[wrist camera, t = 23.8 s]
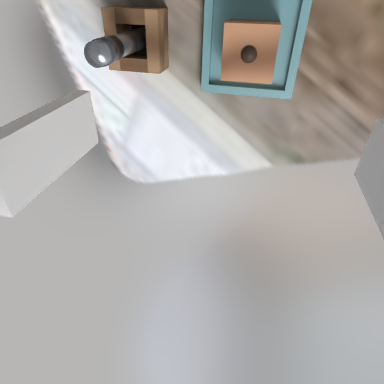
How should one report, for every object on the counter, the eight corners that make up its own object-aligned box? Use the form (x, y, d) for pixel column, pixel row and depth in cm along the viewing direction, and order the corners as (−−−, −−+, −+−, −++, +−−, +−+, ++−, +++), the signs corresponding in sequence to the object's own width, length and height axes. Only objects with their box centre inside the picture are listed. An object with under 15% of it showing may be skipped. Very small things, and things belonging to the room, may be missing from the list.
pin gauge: (132, 26, 39) (80, 39, 28) (151, 26, 38) (105, 40, 28) (134, 47, 40) (86, 67, 30) (152, 48, 40) (109, 69, 30)
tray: (207, -16, 35) (205, -16, 33) (313, -13, 33) (315, -13, 31) (203, 88, 41) (201, 91, 40) (290, 96, 39) (291, 99, 38)
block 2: (229, 19, 36) (224, 22, 31) (280, 20, 34) (281, 24, 30) (225, 71, 39) (220, 80, 35) (271, 74, 38) (271, 84, 34)
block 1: (115, 6, 38) (101, 7, 35) (167, 8, 37) (157, 9, 34) (121, 63, 42) (109, 69, 39) (168, 67, 41) (159, 73, 38)
